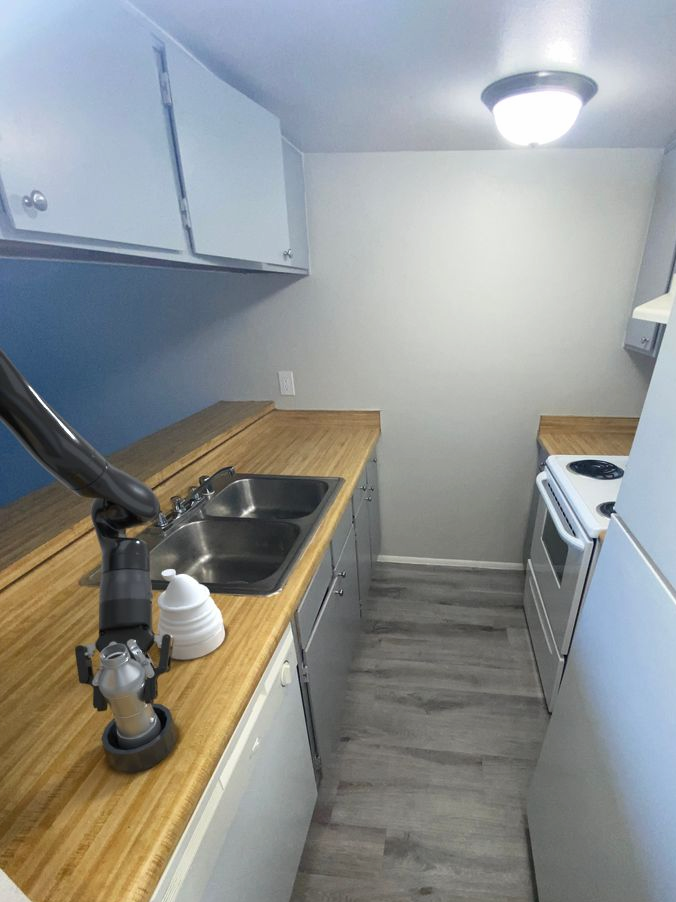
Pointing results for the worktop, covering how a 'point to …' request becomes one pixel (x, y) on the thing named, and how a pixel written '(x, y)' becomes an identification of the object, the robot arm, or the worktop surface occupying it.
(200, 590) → the honey pot
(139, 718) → the silver bottle
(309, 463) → the worktop surface
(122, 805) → the worktop surface
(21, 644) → the worktop surface
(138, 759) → the socket
